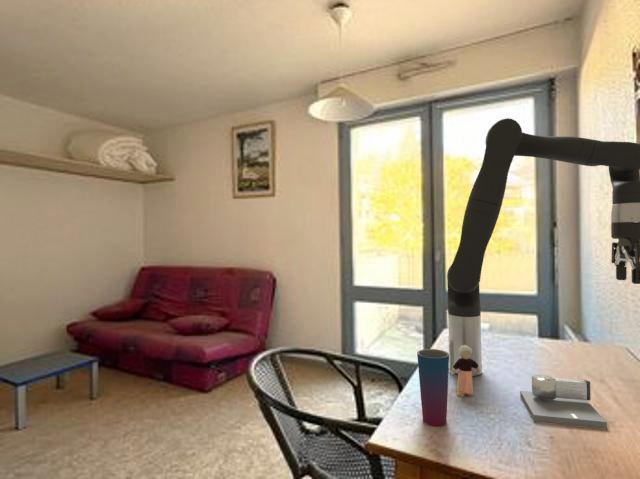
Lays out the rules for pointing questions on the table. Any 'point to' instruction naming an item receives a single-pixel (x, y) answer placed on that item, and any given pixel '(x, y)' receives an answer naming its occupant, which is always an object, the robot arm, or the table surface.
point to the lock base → (562, 411)
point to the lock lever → (560, 388)
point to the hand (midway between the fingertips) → (629, 281)
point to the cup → (433, 385)
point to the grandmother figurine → (465, 371)
